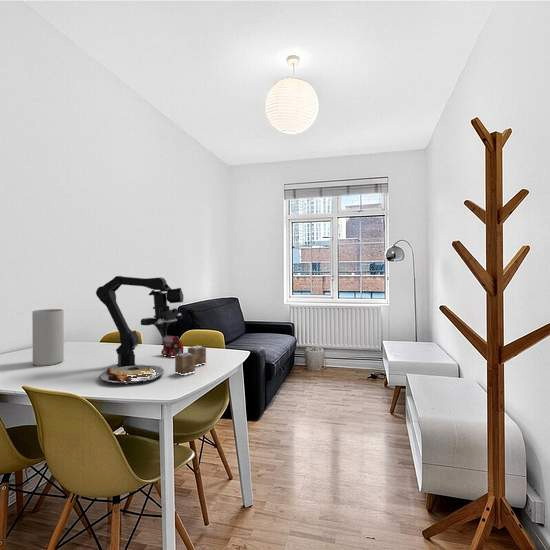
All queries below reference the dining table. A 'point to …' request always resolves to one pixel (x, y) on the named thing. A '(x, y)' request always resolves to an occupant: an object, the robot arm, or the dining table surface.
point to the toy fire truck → (172, 346)
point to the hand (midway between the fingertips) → (163, 337)
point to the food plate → (129, 373)
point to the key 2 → (184, 354)
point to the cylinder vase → (47, 337)
